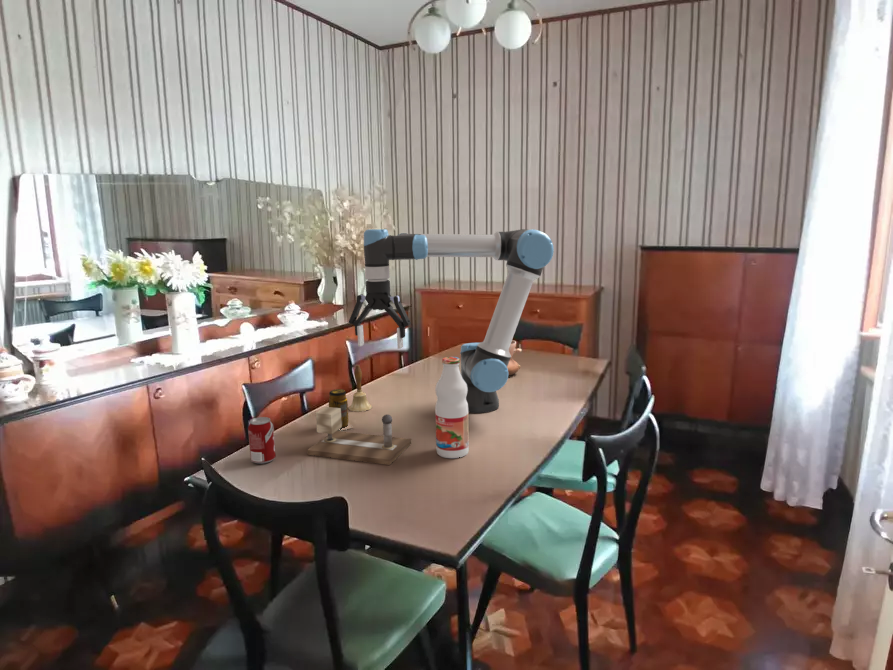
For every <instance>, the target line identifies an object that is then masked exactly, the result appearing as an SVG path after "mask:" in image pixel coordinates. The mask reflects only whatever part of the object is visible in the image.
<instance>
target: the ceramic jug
mask: <svg viewBox="0 0 893 670" xmlns="http://www.w3.org/2000/svg"><path fill="white" fill-rule="evenodd" d="M516 347H517V341H516V340H513V339H512V342H511V344H510V347H509V353H510V355H511V358H510V361H509V364H508V366H507V368H508V377H509V376H513V375H514V374H516V373H517V372H518V371H519V370H520V369H521V365H520V364H519V363H518V362H517V361H515V360H514V359H513V356H514V354H516V353H518V352H519V353H520V354H521V352H522V348H516Z"/></svg>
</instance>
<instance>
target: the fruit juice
mask: <svg viewBox="0 0 893 670" xmlns="http://www.w3.org/2000/svg"><path fill="white" fill-rule="evenodd" d="M441 363H442V366H443V367H442V372H441V375H440V378H439V379H438V380H437V383H436V385H435V390H434V391H435V395H436V399H437V400H436V403H435V410H434V411H435V412H434V413H435V447H436V453H437V455H439V456H440V457H441V458H445V459H459V457H460V458H462V457H465V456H467V455H468V454H469V450H470V448H469V447H470V444H469V443H470V441H469V439H470V438H469V436H470V435H469V427H470V425H469V412H468V403H467V401H466V396H467V391H468V388H467V384H466V382H465V381H464V380H463V378H462V376H461V369H460V367H459V366H460V365H461V358H459V357H457V356H446V357H443V358H442V359H441Z"/></svg>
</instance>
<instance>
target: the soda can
mask: <svg viewBox="0 0 893 670" xmlns="http://www.w3.org/2000/svg"><path fill="white" fill-rule="evenodd" d="M247 433H248V442H249V444H248V446H249V454H250V455H249V456H250V462H252V463H253V464H254V463H255V464H258V465H265V464H270V463H271V462H273V461H274V460H275V459H276V458H277V457H276V455H277V454H276V446H275V445H276V443H275V429H274V424H273V423H272V421H271V418H270V417H266V416H260V417H259V416H258V417H254V418H252V419H250V420H249V425H248V427H247Z"/></svg>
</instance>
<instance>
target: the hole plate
mask: <svg viewBox="0 0 893 670" xmlns="http://www.w3.org/2000/svg"><path fill="white" fill-rule="evenodd" d="M392 422H393V417H392V416H391V415H390V414H384V415H383V416H382V418H381V423H382V431H383V432H382V433H383V435H379V434H371V433H370V434H367V433H361V432H353V431H352V432H351V431H336V432H334V433H333V434H332V439H328V434H326V436H325V437H323V438H321V439H320V440H319V441H318V442H316V443H314V444H313V445H312V446H310V447H309V448H308V449H307V451H306V453H307V455H308V456H314V455H315V456H316V457H323V458H330V457H331V459H340V460H347V461H354V460H355V462H362V461H363V463H370V462H371V463H370V464H378V465H386V466H387V465H388V466H390V465H392V462H393V463H394V462H395V460H397V459H396V458H397V457H398V456H399V455H400V454H401V453H402V452H403V451H404V450H405V449H406V448H407V447H408V446H409V445H410V444H411V445H412V438H407V437H406V438H404V437H397V436H393V430H392V428H393V427H392ZM411 445H410V446H411ZM410 446H409V447H410ZM409 447H408V448H409ZM408 448H407V449H408ZM407 449H406V450H407ZM406 450H405V451H406ZM405 451H404V452H405ZM404 452H403V453H404ZM403 453H402V454H403ZM402 454H401V455H402ZM401 455H400V456H401ZM315 456H314V457H315ZM400 456H399V457H400ZM399 457H398V458H399Z"/></svg>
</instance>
